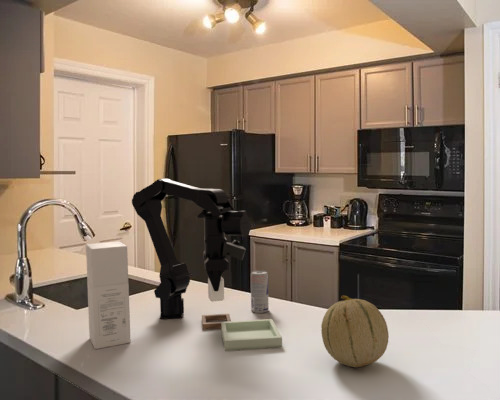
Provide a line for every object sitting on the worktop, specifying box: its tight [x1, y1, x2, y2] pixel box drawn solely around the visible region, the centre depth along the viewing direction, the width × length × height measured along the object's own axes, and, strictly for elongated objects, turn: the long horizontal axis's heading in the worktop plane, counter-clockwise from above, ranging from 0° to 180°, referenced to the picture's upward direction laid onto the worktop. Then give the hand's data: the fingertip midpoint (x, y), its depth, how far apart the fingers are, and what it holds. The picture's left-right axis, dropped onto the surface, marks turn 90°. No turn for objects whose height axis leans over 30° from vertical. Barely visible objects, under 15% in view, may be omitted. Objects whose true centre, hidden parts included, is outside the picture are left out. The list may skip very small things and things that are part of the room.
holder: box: [201, 313, 232, 331], centre depth 130 cm, size 8×8×2 cm
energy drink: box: [250, 270, 269, 314], centre depth 141 cm, size 5×5×12 cm
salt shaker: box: [207, 276, 225, 303], centre depth 129 cm, size 4×4×10 cm
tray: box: [220, 318, 283, 352], centre depth 118 cm, size 14×14×2 cm
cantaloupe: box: [320, 294, 390, 368], centre depth 102 cm, size 15×15×15 cm
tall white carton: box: [85, 241, 131, 350], centre depth 118 cm, size 9×9×25 cm
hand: (215, 289), depth 129 cm, fingers closed on salt shaker, 4 cm apart
